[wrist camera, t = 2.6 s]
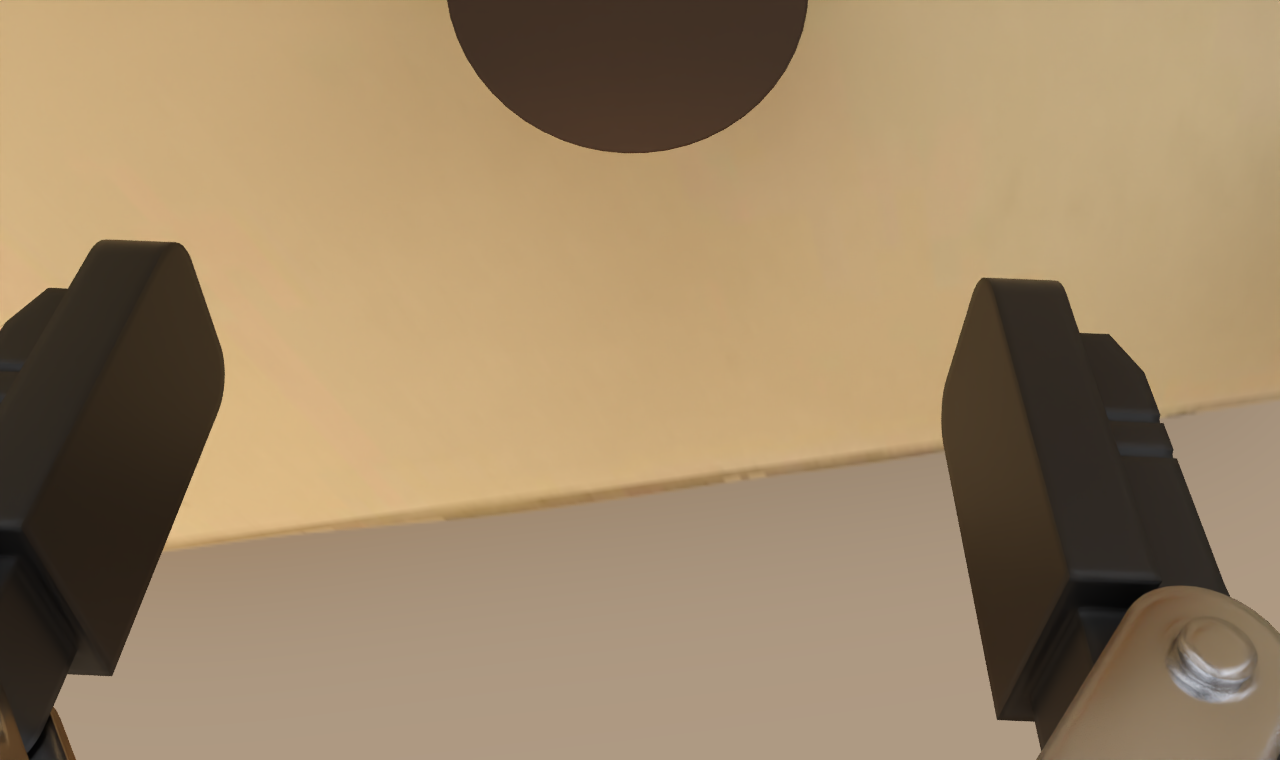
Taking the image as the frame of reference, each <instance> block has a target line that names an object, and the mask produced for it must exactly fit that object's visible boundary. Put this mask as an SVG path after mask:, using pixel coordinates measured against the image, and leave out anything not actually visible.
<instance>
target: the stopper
mask: <svg viewBox="0 0 1280 760" xmlns="http://www.w3.org/2000/svg"><path fill="white" fill-rule="evenodd" d="M447 2H448V8H449V13H450V18H451V21H452V24H453V27H454V30H455V33H456V36H457V39H458V41H459V43H460V45H461V47H462V49H463V51H464V54H465V56H466V58H467V59H468V61H469V63H470V64H471V66H472V67H473V69H474V70H475V72H476V73H477V75H478V77H479V78H480V79H481V80H482V81H483V83H484V84H485V85H486V86H487V87H488V89H489V90H490V91H491V92H492V93H493V94H494V95H495V96H496V97H497V98H498V99H499V100H500V101H501V102H502V103H503V104H504V105H505V106H506V107H507V108H509V109H510V110H511V111H512V112H514V113H515V114H516V115H518V116H519V117H520V118H522V119H523V120H524V121H526V122H528V123H529V124H531V125H533V126H535V127H536V128H538V129H540V130H541V131H543V132H545V133H547V134H550V135H552V136H554V137H556V138H558V139H561V140H563V141H566V142H569V143H572V144H575V145H579V146H582V147H586V148H591V149H595V150H600V151H607V152H617V153H649V152H657V151H665V150H670V149H674V148H678V147H682V146H686V145H689V144H692V143H695V142H698V141H700V140H703V139H706V138H708V137H710V136H712V135H714V134H716V133H718V132H720V131H722V130H724V129H726V128H727V127H729V126H730V125H732V124H733V123H735V122H736V121H738V120H739V119H741V118H742V117H744V116H745V115H746V114H747V113H748V112H750V111H751V110H752V109H753V108H754V107H755V106H757V105H758V104H759V103H760V102H761V101H762V100H763V99H764V97H765V96H766V95H767V94H768V93H769V92H770V91H771V90H772V89H773V87H774V86H775V85H776V83H777V82H778V80H779V79H780V78H781V76H782V75H783V73H784V72H785V70H786V69H787V67H788V65H789V63H790V61H791V59H792V57H793V55H794V53H795V51H796V49H797V46H798V43H799V40H800V37H801V34H802V32H803V28H804V23H805V18H806V13H807V8H808V0H447Z"/></svg>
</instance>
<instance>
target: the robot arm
mask: <svg viewBox="0 0 1280 760" xmlns="http://www.w3.org/2000/svg"><path fill="white" fill-rule="evenodd" d="M224 379H225V370H224V358H223V353H222V349H221V346H220V343H219V340H218V337H217V334H216V331H215V328H214V325H213V322H212V319H211V316H210V313H209V310H208V307H207V305H206V302H205V299H204V296H203V293H202V290H201V287H200V284H199V281H198V278H197V275H196V272H195V269H194V266H193V263H192V260H191V258H190V256H189V254H188V252H187V250H186V249H185V248H184V246H183V245H181V244H180V243H176V242H154V241H130V240H101V241H99V242H97V243H96V244H95V245H94V246H93V248H92V249H91V251H90V252H89V254H88V255H87V257H86V259H85V261H84V262H83V264H82V266H81V267H80V269H79V271H78V273H77V274H76V276H75V278H74V279H73V281H72V283H71V285H70V286H69V288H68V289H62V288H47V289H46V290H45V291H44V292H43V293H41V294H40V295H39V296H38V297H36V298H35V299H34V300H33V301H31V302H30V303H29V304H28V305H26V306H25V307H24V308H23V309H22V310H20V311H19V312H18V313H17V314H15V315H14V316H13V317H12V318H10V319H9V320H8V321H7V322H6V323H5V324H4V326H3V327H2V329H1V331H0V760H76V759H75V756H74V753H73V751H72V748H71V745H70V743H69V740H68V737H67V735H66V732H65V730H64V727H63V725H62V722H61V719H60V717H59V715H58V713H57V711H56V710H55V708H54V707H53V706H54V703H55V701H56V699H57V696H58V694H59V692H60V689H61V687H62V685H63V683H64V680H65V678H66V675H67V674H78V675H98V676H99V675H100V676H112V675H113V672H114V670H115V667H116V665H117V662H118V660H119V657H120V655H121V652H122V650H123V647H124V645H125V642H126V640H127V637H128V635H129V632H130V630H131V627H132V625H133V623H134V620H135V617H136V615H137V612H138V610H139V607H140V605H141V603H142V600H143V597H144V595H145V593H146V590H147V587H148V585H149V582H150V580H151V578H152V575H153V573H154V570H155V568H156V565H157V562H158V560H159V558H160V555H161V553H162V550H163V548H164V545H165V543H166V540H167V538H168V535H169V533H170V530H171V528H172V525H173V523H174V520H175V518H176V515H177V513H178V510H179V508H180V505H181V503H182V500H183V498H184V495H185V493H186V490H187V488H188V486H189V483H190V481H191V478H192V476H193V473H194V471H195V468H196V466H197V463H198V461H199V458H200V456H201V453H202V451H203V448H204V446H205V443H206V441H207V438H208V436H209V433H210V431H211V428H212V426H213V423H214V421H215V418H216V416H217V413H218V411H219V408H220V405H221V401H222V397H223V391H224ZM1159 418H1160V413H1159V410H1158V408H1157V405H1156V402H1155V400H1154V397H1153V394H1152V392H1151V389H1150V386H1149V384H1148V381H1147V379H1146V376H1145V373H1144V372H1143V371H1142V370H1141V368H1140V367H1139V366H1138V365H1137V364H1136V363H1135V362H1134V361H1133V360H1132V359H1131V358H1130V356H1129V355H1128V354H1127V353H1126V352H1125V351H1124V350H1123V349H1122V348H1121V347H1120V346H1119V345H1118V343H1117V342H1116V341H1115V340H1114V339H1113V338H1112V337H1111V336H1110V335H1109V334H1091V333H1079V330H1078V327H1077V324H1076V321H1075V318H1074V315H1073V312H1072V309H1071V306H1070V303H1069V300H1068V297H1067V294H1066V292H1065V289H1064V287H1063V286H1062V284H1061V283H1059V282H1058V281H1052V280H1028V279H1003V278H982V279H981V280H979V282H978V283H977V285H976V287H975V289H974V292H973V295H972V298H971V301H970V304H969V308H968V311H967V314H966V317H965V321H964V324H963V327H962V330H961V333H960V337H959V340H958V343H957V346H956V350H955V353H954V356H953V359H952V363H951V366H950V369H949V372H948V376H947V379H946V383H945V387H944V392H943V400H942V414H941V425H942V438H943V444H944V450H945V455H946V460H947V465H948V470H949V475H950V480H951V486H952V490H953V496H954V501H955V506H956V511H957V516H958V522H959V527H960V532H961V537H962V542H963V547H964V552H965V558H966V562H967V568H968V573H969V578H970V583H971V588H972V593H973V598H974V604H975V609H976V614H977V619H978V624H979V629H980V635H981V639H982V645H983V650H984V655H985V660H986V665H987V671H988V676H989V681H990V686H991V691H992V696H993V701H994V707H995V712H996V717H997V720H1012V721H1033V722H1035V724H1036V729H1037V734H1038V738H1039V743H1040V747H1041V753H1040V755H1039V756H1038V758H1037V759H1036V760H1280V634H1279V632H1278V631H1277V630H1276V629H1275V628H1274V627H1273V626H1272V625H1271V624H1270V623H1269V622H1268V621H1267V620H1265V619H1264V618H1263V617H1262V616H1260V615H1259V614H1258V613H1257V612H1255V611H1254V610H1252V609H1251V608H1249V607H1248V606H1246V605H1244V604H1243V603H1241V602H1239V601H1237V600H1235V599H1233V598H1231V597H1230V595H1229V593H1228V591H1227V589H1226V587H1225V584H1224V582H1223V579H1222V577H1221V574H1220V571H1219V569H1218V566H1217V564H1216V561H1215V558H1214V556H1213V553H1212V550H1211V548H1210V545H1209V542H1208V540H1207V537H1206V534H1205V532H1204V529H1203V526H1202V524H1201V521H1200V519H1199V516H1198V513H1197V511H1196V508H1195V505H1194V503H1193V500H1192V497H1191V495H1190V492H1189V490H1188V487H1187V484H1186V482H1185V479H1184V476H1183V474H1182V471H1181V469H1180V466H1179V464H1178V461H1177V459H1175V458H1173V455H1172V453H1173V447H1172V445H1171V442H1170V439H1169V437H1168V434H1167V431H1166V429H1165V426H1164V424H1163V423H1160V421H1159Z"/></svg>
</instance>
